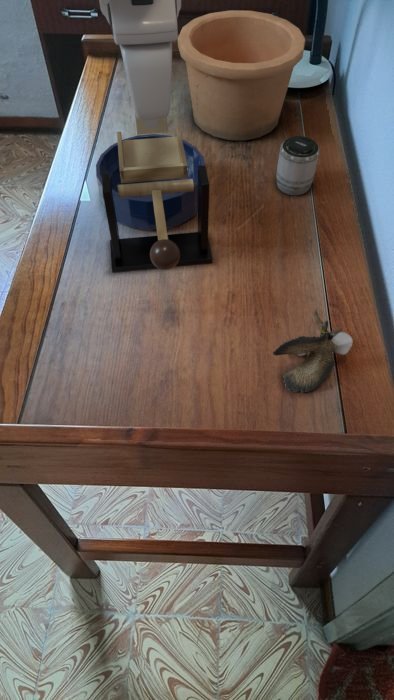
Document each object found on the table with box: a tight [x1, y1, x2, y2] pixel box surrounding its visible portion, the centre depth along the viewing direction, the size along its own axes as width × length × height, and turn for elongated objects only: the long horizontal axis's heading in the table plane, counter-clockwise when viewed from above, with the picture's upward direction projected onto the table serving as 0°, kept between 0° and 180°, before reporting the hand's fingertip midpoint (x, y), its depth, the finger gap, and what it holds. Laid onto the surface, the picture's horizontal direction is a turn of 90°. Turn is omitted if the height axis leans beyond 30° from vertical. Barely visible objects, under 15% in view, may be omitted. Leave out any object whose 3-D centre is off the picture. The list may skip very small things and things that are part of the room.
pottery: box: [177, 9, 306, 142], centre depth 93 cm, size 22×22×14 cm
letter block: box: [134, 113, 169, 136], centre depth 65 cm, size 4×4×4 cm
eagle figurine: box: [272, 308, 354, 394], centre depth 63 cm, size 8×7×9 cm
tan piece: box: [116, 127, 194, 271], centre depth 67 cm, size 10×25×4 cm, turn 8°
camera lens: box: [276, 135, 321, 196], centre depth 84 cm, size 6×6×8 cm
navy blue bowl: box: [95, 133, 207, 231], centre depth 83 cm, size 17×17×6 cm
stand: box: [102, 166, 213, 273], centre depth 72 cm, size 15×6×14 cm, turn 98°
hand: (149, 113), depth 65 cm, fingers closed on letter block, 4 cm apart
